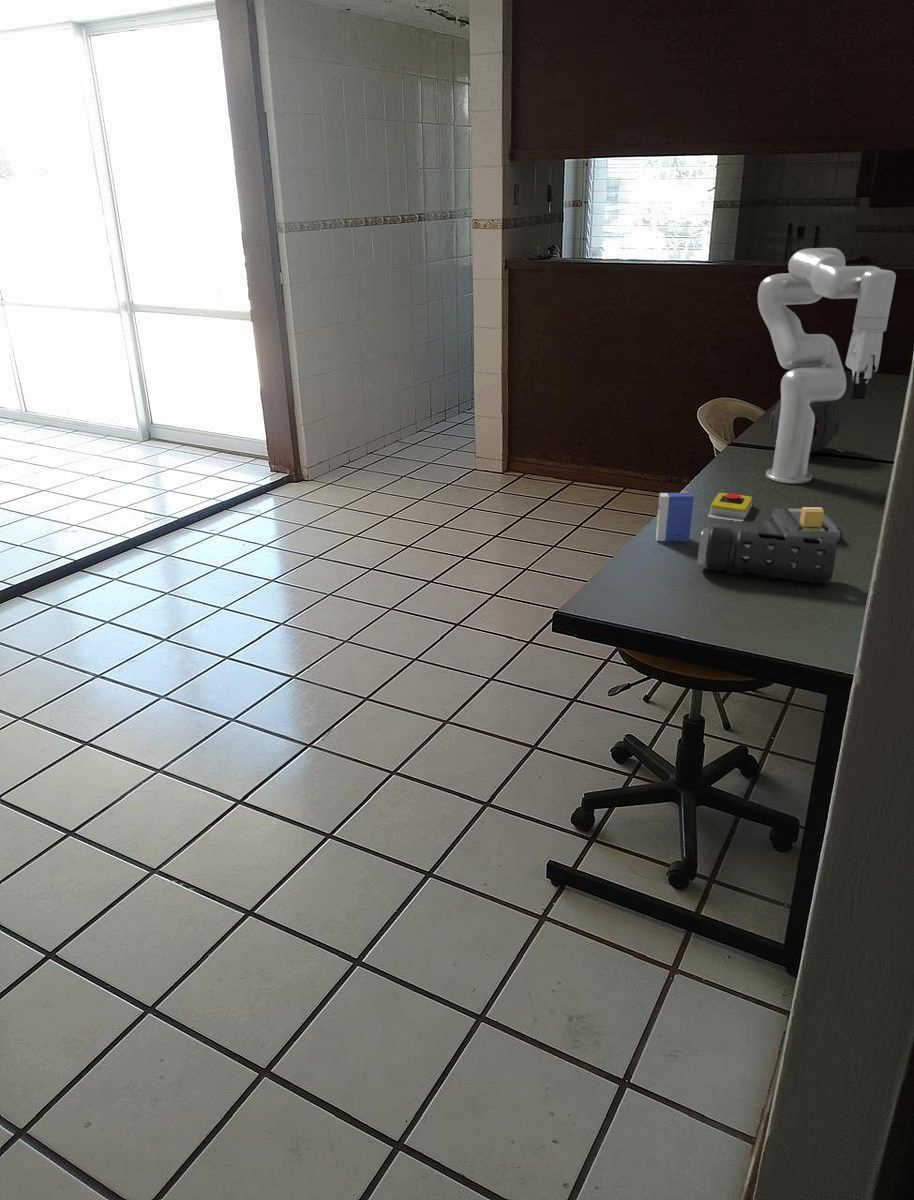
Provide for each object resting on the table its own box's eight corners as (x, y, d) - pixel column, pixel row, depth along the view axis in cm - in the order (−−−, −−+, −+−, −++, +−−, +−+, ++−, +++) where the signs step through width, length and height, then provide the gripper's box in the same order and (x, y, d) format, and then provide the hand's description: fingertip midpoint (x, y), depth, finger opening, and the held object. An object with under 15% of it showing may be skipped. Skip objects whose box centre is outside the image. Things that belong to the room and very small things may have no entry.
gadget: (763, 456, 283) (772, 392, 274) (769, 440, 299) (777, 379, 290) (833, 463, 275) (845, 398, 267) (835, 446, 292) (846, 384, 283)
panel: (771, 517, 234) (773, 506, 232) (818, 518, 233) (820, 507, 232) (788, 541, 219) (790, 529, 218) (838, 541, 219) (840, 529, 217)
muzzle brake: (829, 593, 193) (837, 548, 188) (695, 577, 201) (700, 533, 197) (828, 576, 201) (836, 532, 197) (699, 560, 209) (704, 519, 205)
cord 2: (822, 521, 231) (822, 516, 231) (827, 521, 231) (828, 516, 231) (832, 532, 224) (832, 527, 223) (837, 532, 224) (838, 527, 223)
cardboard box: (799, 522, 223) (802, 506, 221) (817, 522, 223) (820, 506, 221) (803, 526, 220) (805, 510, 218) (821, 527, 220) (824, 510, 218)
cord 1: (762, 526, 228) (763, 520, 228) (768, 526, 228) (769, 521, 228) (777, 547, 216) (778, 541, 215) (783, 547, 216) (784, 541, 215)
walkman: (686, 537, 222) (691, 491, 217) (688, 541, 220) (693, 495, 214) (654, 537, 222) (658, 491, 217) (656, 542, 220) (660, 495, 215)
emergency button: (755, 490, 242) (745, 508, 229) (753, 506, 243) (743, 524, 231) (720, 486, 245) (708, 503, 233) (718, 501, 247) (706, 519, 235)
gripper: (844, 318, 227) (832, 391, 235) (865, 328, 214) (851, 405, 222) (874, 318, 227) (861, 391, 235) (897, 328, 213) (882, 405, 221)
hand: (856, 398), depth 228 cm, fingers closed
